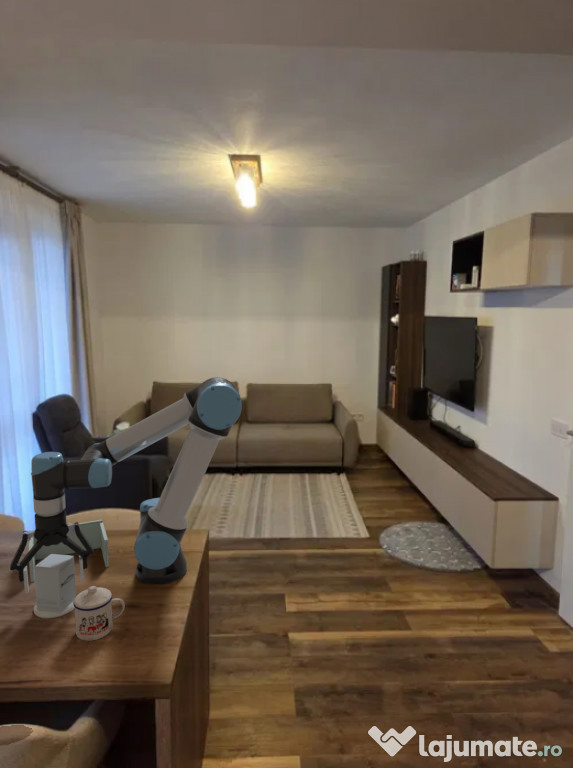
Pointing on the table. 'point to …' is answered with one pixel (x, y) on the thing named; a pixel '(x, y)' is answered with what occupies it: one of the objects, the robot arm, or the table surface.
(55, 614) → the coaster
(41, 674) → the table surface
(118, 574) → the table surface
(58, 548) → the three-sided green enclosure
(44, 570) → the supplement box
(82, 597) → the teacup with lid
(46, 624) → the table surface
